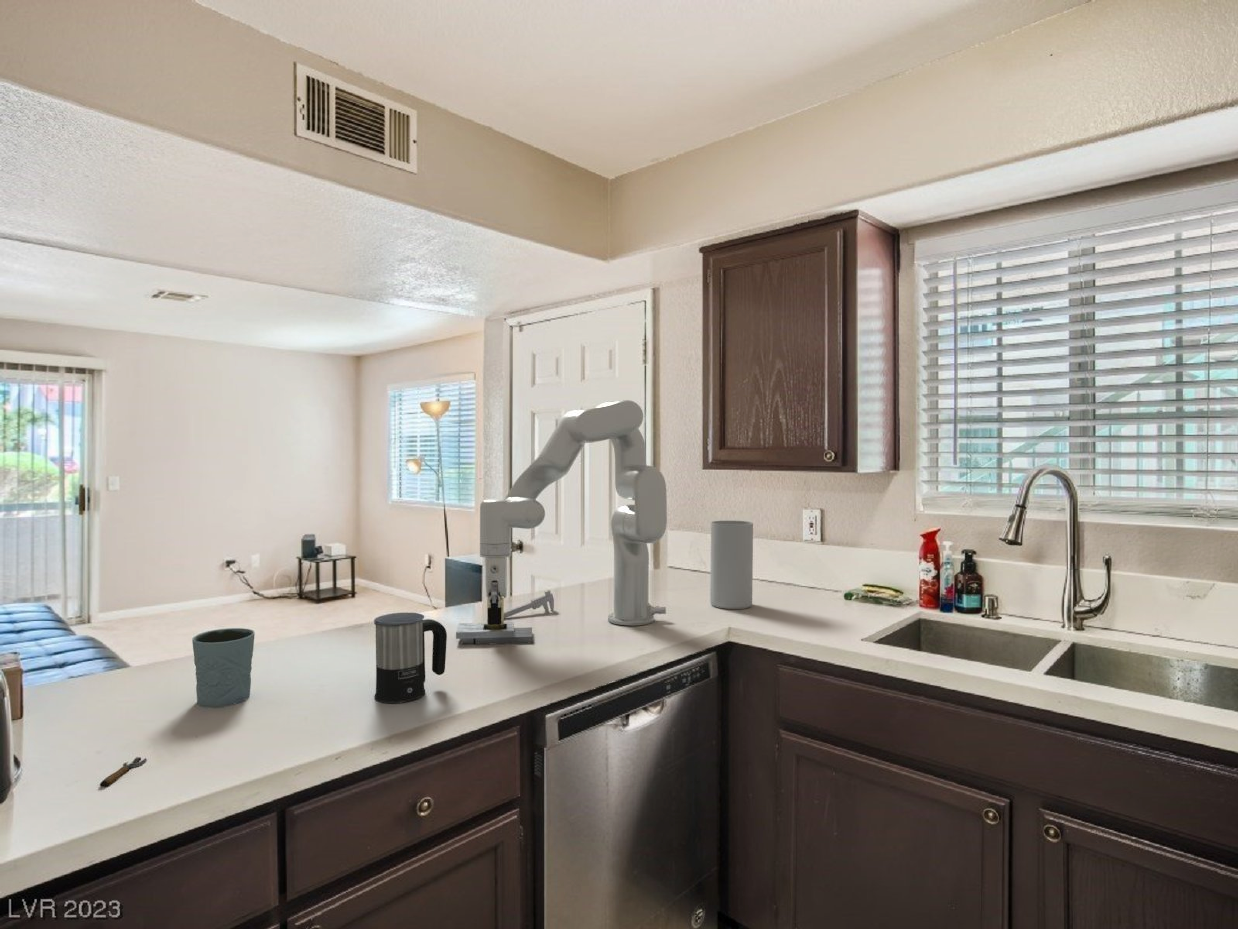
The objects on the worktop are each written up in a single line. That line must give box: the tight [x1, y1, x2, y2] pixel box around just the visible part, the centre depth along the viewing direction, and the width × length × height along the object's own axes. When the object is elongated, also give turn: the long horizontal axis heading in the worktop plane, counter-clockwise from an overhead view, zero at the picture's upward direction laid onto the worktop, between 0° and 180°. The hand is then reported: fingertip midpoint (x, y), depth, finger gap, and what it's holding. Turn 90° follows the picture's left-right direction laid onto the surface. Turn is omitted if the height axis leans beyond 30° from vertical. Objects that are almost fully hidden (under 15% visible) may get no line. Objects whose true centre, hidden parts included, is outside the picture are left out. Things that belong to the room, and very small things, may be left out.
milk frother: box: [373, 612, 448, 704], centre depth 138 cm, size 14×16×15 cm
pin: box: [486, 597, 505, 630], centre depth 175 cm, size 4×4×10 cm
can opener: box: [99, 756, 147, 788], centre depth 102 cm, size 9×2×1 cm, turn 179°
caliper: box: [504, 589, 555, 619], centre depth 200 cm, size 20×1×6 cm, turn 131°
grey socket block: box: [455, 621, 533, 645], centre depth 175 cm, size 18×9×3 cm, turn 98°
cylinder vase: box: [709, 520, 754, 610], centre depth 215 cm, size 12×12×25 cm
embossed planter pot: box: [191, 627, 256, 708], centre depth 132 cm, size 10×10×12 cm
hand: (495, 619), depth 175 cm, fingers open, 9 cm apart
